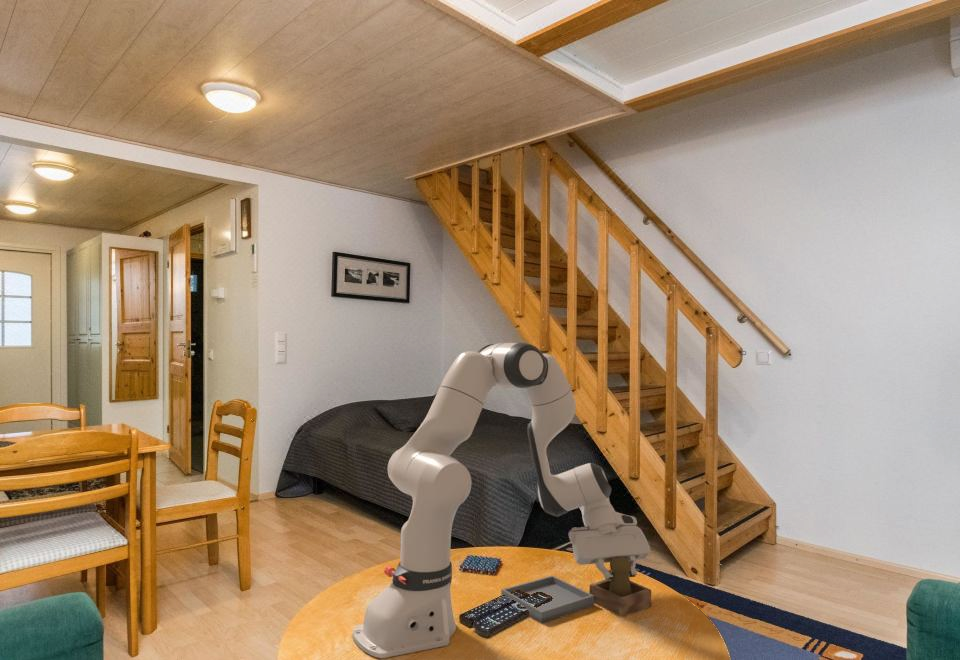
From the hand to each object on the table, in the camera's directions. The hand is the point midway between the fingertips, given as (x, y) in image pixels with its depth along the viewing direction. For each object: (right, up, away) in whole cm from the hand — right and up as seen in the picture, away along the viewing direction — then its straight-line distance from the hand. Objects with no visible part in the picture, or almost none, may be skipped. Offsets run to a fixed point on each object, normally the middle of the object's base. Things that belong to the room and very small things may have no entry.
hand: (621, 577), depth 144 cm
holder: (0, -7, 0) cm, 7 cm away
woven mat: (-34, -7, +23) cm, 42 cm away
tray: (-18, -6, 0) cm, 19 cm away
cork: (0, -7, 0) cm, 7 cm away
